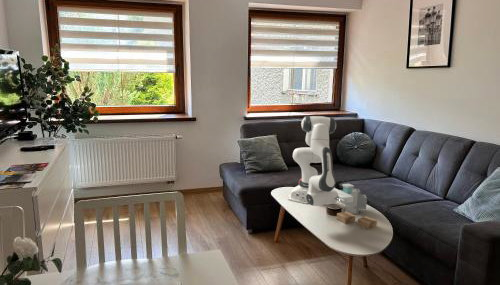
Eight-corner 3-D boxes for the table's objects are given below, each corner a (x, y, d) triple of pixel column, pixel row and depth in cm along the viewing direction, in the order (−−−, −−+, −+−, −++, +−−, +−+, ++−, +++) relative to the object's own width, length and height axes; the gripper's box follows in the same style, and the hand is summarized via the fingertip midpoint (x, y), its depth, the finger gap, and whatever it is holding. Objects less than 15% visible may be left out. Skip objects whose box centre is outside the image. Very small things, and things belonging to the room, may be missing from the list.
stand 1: (344, 224, 228) (345, 218, 227) (336, 219, 235) (336, 213, 234) (354, 221, 232) (355, 215, 231) (346, 217, 239) (346, 211, 238)
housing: (346, 205, 228) (347, 186, 225) (341, 202, 232) (342, 184, 230) (352, 204, 230) (354, 185, 227) (347, 201, 234) (348, 183, 232)
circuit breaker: (368, 214, 243) (370, 193, 240) (345, 212, 246) (347, 191, 243) (367, 210, 250) (368, 189, 247) (345, 208, 253) (346, 187, 250)
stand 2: (367, 229, 221) (368, 223, 220) (357, 224, 227) (357, 218, 226) (376, 226, 225) (376, 220, 224) (365, 222, 231) (366, 216, 231)
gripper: (342, 196, 214) (360, 193, 220) (321, 186, 232) (338, 183, 238) (341, 206, 216) (359, 203, 221) (320, 195, 234) (338, 193, 240)
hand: (348, 193), depth 230 cm, fingers closed on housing, 4 cm apart
